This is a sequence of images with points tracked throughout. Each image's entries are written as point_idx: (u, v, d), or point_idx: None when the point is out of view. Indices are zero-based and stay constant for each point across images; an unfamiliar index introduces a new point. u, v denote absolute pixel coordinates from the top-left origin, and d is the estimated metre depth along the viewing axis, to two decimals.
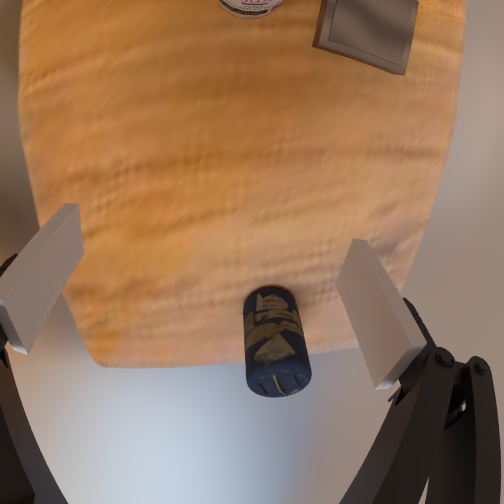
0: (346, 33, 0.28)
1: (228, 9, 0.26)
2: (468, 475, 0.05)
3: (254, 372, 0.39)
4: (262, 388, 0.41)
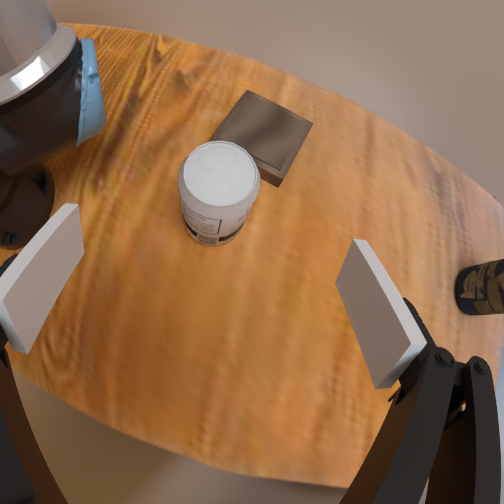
0: (276, 154, 0.42)
1: (230, 238, 0.40)
2: (468, 475, 0.05)
3: None
4: None
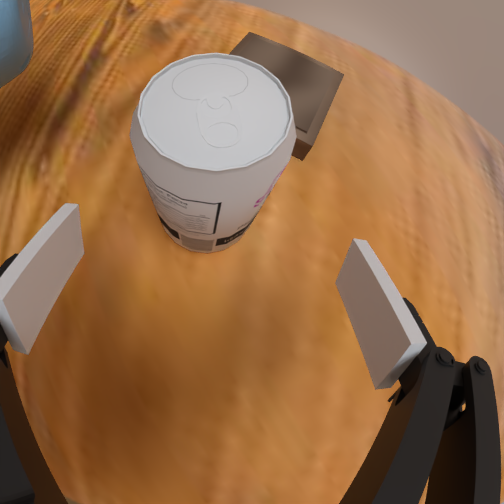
0: (298, 110, 0.27)
1: (236, 239, 0.24)
2: (468, 475, 0.05)
3: None
4: None
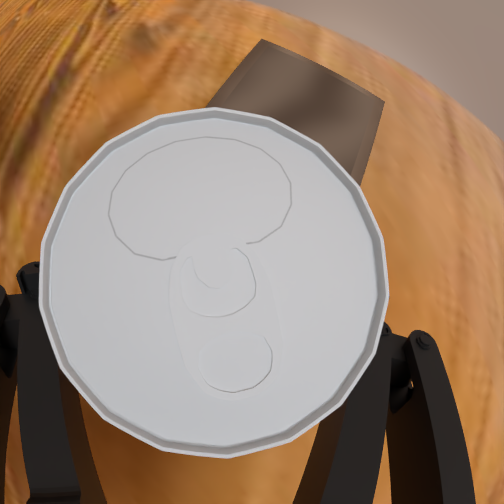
0: None
1: None
2: (431, 461, 0.05)
3: None
4: None
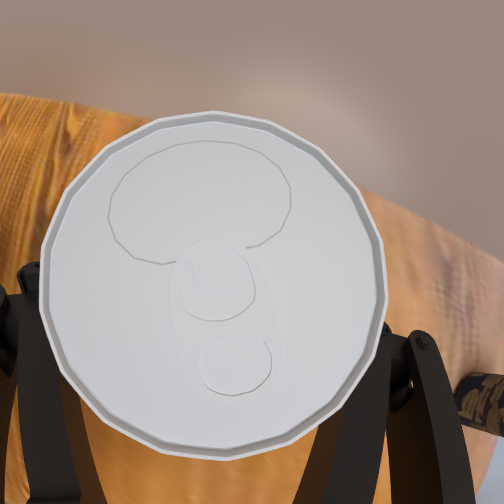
0: None
1: None
2: (430, 461, 0.05)
3: None
4: None
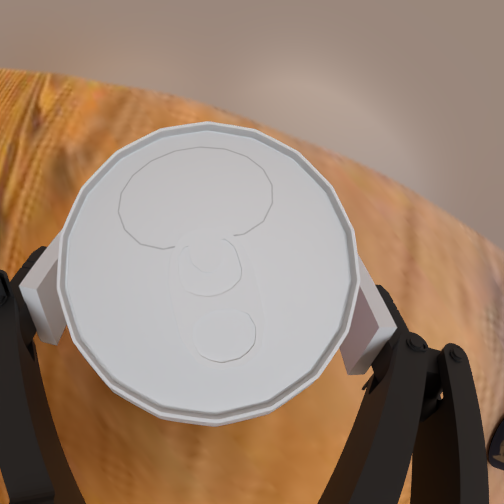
0: None
1: None
2: (452, 468, 0.05)
3: None
4: None
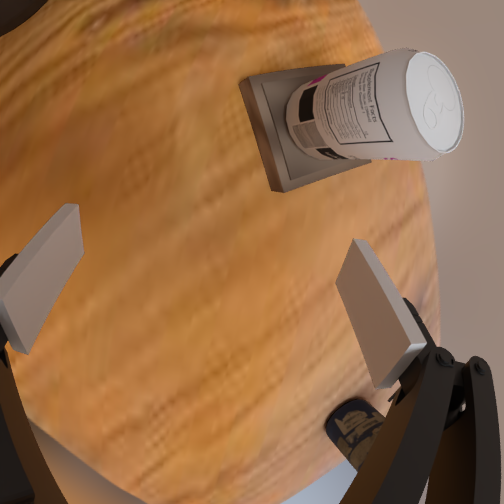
0: (303, 159, 0.29)
1: (326, 157, 0.27)
2: (468, 475, 0.05)
3: None
4: None
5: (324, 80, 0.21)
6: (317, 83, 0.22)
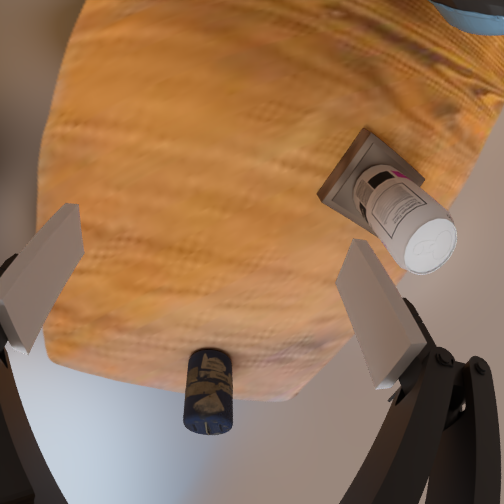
0: (349, 198, 0.41)
1: (359, 211, 0.39)
2: (468, 475, 0.05)
3: (192, 417, 0.48)
4: (193, 427, 0.50)
5: (399, 179, 0.33)
6: (395, 176, 0.33)
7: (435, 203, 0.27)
